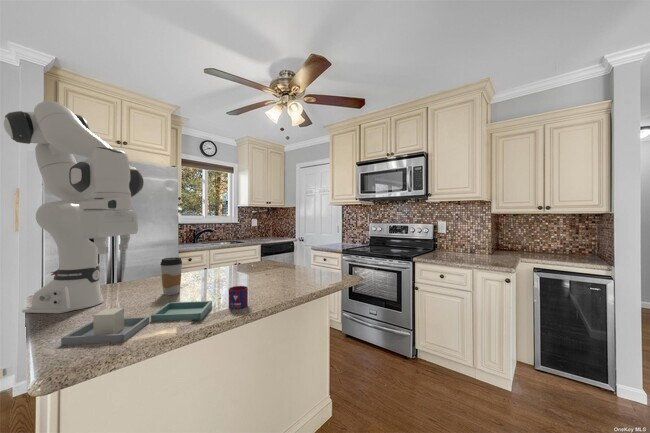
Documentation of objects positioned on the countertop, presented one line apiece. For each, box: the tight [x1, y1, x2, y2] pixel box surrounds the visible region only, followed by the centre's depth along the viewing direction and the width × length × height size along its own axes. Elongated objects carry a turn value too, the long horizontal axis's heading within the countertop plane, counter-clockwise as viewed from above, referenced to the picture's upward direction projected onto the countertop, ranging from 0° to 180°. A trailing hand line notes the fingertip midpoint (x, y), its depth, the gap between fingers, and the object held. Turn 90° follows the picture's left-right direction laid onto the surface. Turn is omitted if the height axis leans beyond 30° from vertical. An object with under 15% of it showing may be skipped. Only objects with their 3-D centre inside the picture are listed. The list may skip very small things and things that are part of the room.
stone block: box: [92, 307, 125, 335], centre depth 78 cm, size 5×5×6 cm
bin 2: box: [150, 300, 213, 322], centre depth 94 cm, size 15×13×2 cm
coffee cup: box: [160, 256, 183, 296], centre depth 120 cm, size 8×8×15 cm
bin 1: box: [60, 316, 150, 346], centre depth 78 cm, size 15×13×2 cm
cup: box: [228, 285, 249, 310], centre depth 104 cm, size 7×10×7 cm
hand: (113, 251), depth 80 cm, fingers open, 8 cm apart
